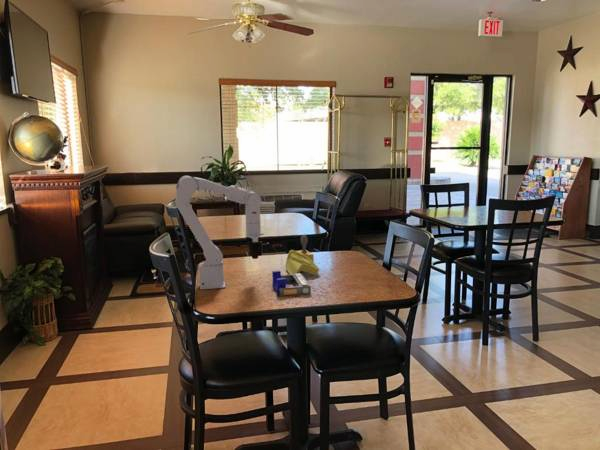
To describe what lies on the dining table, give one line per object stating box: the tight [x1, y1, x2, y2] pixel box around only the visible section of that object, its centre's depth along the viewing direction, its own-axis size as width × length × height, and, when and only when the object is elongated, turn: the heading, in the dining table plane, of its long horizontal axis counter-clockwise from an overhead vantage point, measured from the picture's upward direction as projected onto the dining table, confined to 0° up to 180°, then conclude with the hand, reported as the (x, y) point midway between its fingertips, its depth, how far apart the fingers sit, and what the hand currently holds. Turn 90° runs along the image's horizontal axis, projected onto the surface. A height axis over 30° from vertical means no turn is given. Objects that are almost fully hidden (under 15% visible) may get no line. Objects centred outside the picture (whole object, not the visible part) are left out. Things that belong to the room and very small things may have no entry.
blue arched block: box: [271, 270, 291, 296], centre depth 183 cm, size 12×4×6 cm, turn 12°
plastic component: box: [285, 249, 320, 276], centre depth 208 cm, size 20×7×10 cm
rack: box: [279, 272, 312, 297], centre depth 184 cm, size 11×17×4 cm
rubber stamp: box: [295, 234, 315, 262], centre depth 225 cm, size 10×6×12 cm, turn 20°
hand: (254, 256), depth 192 cm, fingers open, 7 cm apart
